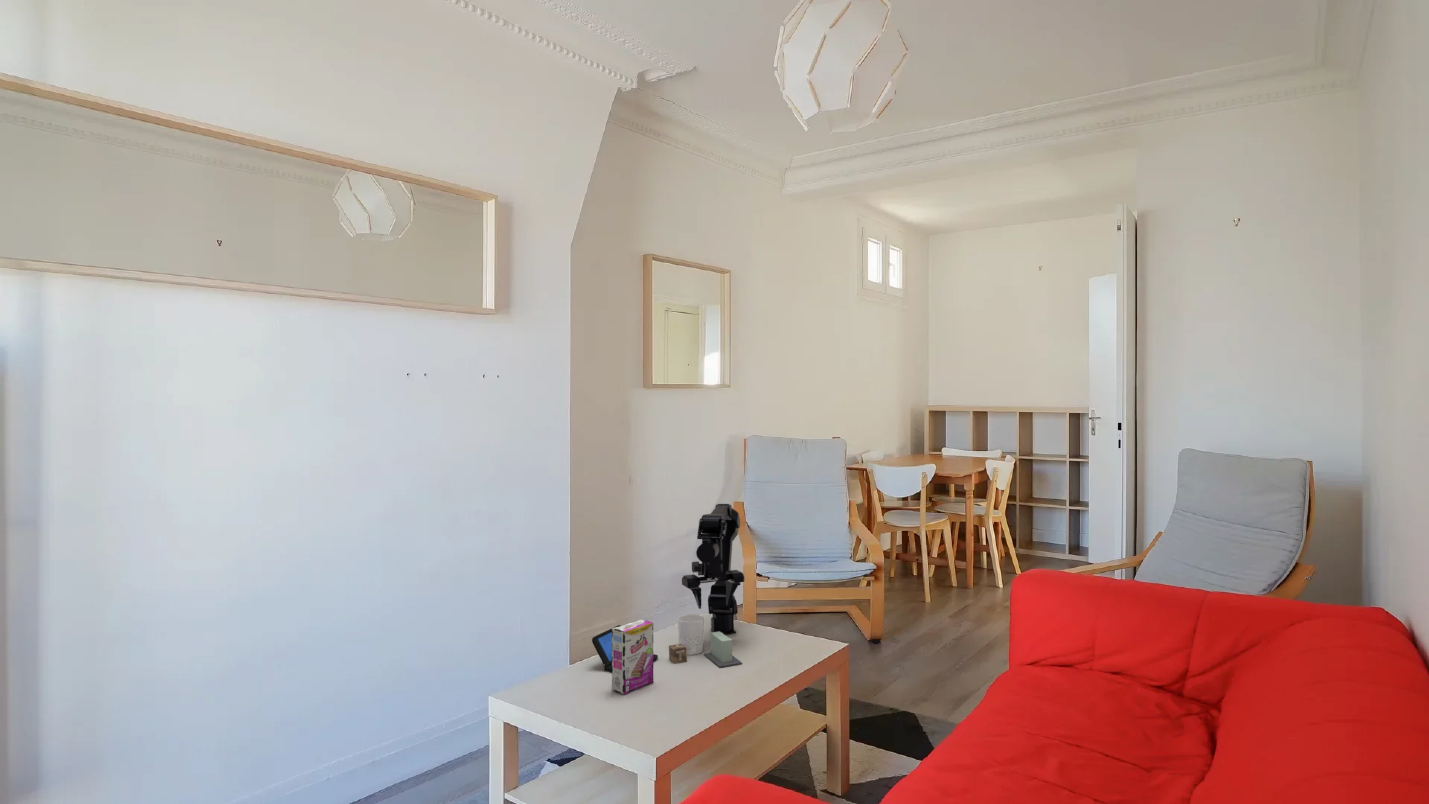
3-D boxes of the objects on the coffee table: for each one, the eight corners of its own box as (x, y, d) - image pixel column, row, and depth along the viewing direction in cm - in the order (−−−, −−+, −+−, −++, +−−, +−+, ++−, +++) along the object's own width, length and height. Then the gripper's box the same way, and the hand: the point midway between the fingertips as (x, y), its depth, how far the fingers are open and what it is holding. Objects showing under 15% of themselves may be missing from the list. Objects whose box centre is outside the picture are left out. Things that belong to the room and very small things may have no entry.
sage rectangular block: (732, 660, 218) (731, 640, 218) (722, 662, 217) (722, 641, 217) (720, 651, 227) (719, 631, 227) (710, 653, 225) (710, 632, 225)
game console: (631, 677, 209) (631, 644, 209) (590, 670, 215) (589, 638, 215) (660, 659, 223) (659, 628, 223) (620, 653, 229) (620, 623, 229)
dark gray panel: (725, 651, 228) (725, 650, 228) (742, 664, 217) (742, 662, 217) (703, 655, 225) (703, 653, 225) (719, 668, 214) (719, 666, 214)
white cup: (674, 649, 231) (673, 616, 231) (698, 645, 234) (697, 613, 234) (684, 657, 224) (683, 623, 224) (708, 653, 227) (708, 619, 227)
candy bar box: (624, 695, 195) (623, 631, 195) (611, 691, 198) (610, 628, 198) (655, 682, 204) (654, 621, 204) (641, 678, 207) (640, 618, 207)
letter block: (682, 657, 224) (681, 642, 224) (687, 661, 220) (686, 647, 220) (669, 659, 222) (668, 644, 222) (673, 663, 218) (673, 649, 218)
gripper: (730, 548, 244) (731, 597, 244) (675, 554, 237) (676, 604, 237) (744, 555, 234) (745, 605, 234) (687, 560, 227) (688, 613, 227)
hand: (713, 606), depth 233 cm, fingers open, 9 cm apart
